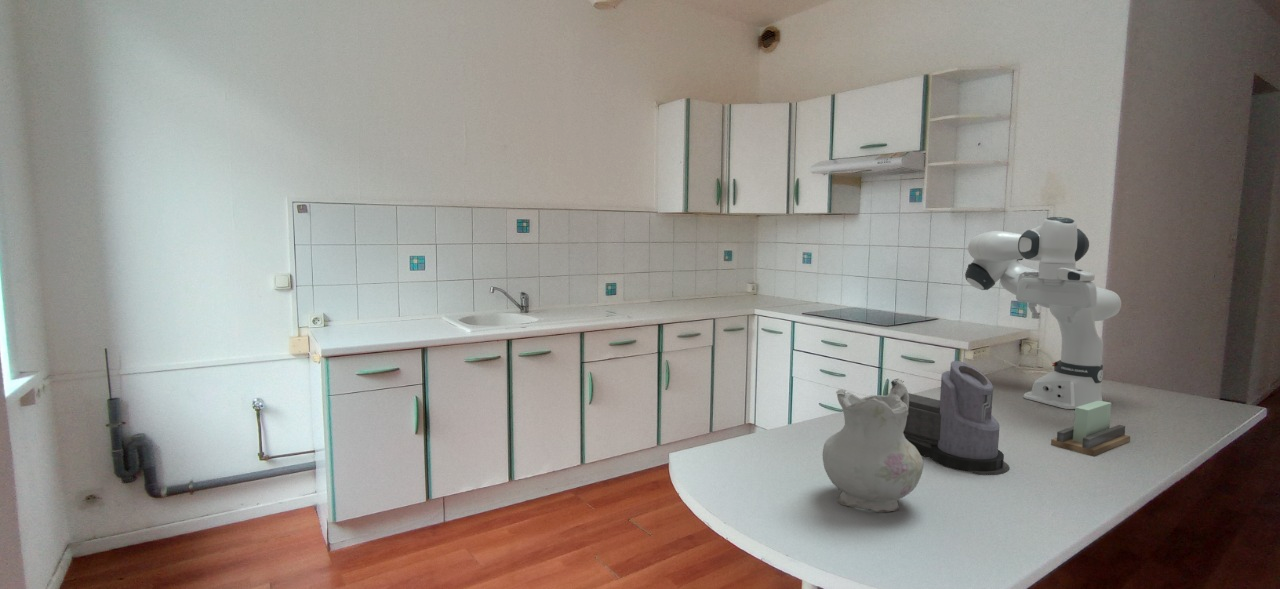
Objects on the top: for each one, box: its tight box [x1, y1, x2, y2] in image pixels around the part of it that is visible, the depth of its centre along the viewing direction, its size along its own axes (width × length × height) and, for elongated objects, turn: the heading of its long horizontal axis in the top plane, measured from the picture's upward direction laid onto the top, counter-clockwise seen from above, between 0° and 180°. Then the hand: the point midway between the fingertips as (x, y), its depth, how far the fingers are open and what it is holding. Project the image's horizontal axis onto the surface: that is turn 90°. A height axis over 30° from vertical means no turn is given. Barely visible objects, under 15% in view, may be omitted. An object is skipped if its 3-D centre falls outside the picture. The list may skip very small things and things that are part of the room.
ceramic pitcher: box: [822, 378, 924, 513], centre depth 131 cm, size 22×20×25 cm
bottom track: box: [1050, 424, 1131, 457], centre depth 169 cm, size 10×22×4 cm, turn 123°
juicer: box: [903, 360, 1011, 476], centre depth 158 cm, size 30×16×24 cm, turn 35°
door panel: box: [1073, 400, 1112, 443], centre depth 169 cm, size 3×14×9 cm, turn 123°
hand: (1052, 320), depth 183 cm, fingers open, 8 cm apart
